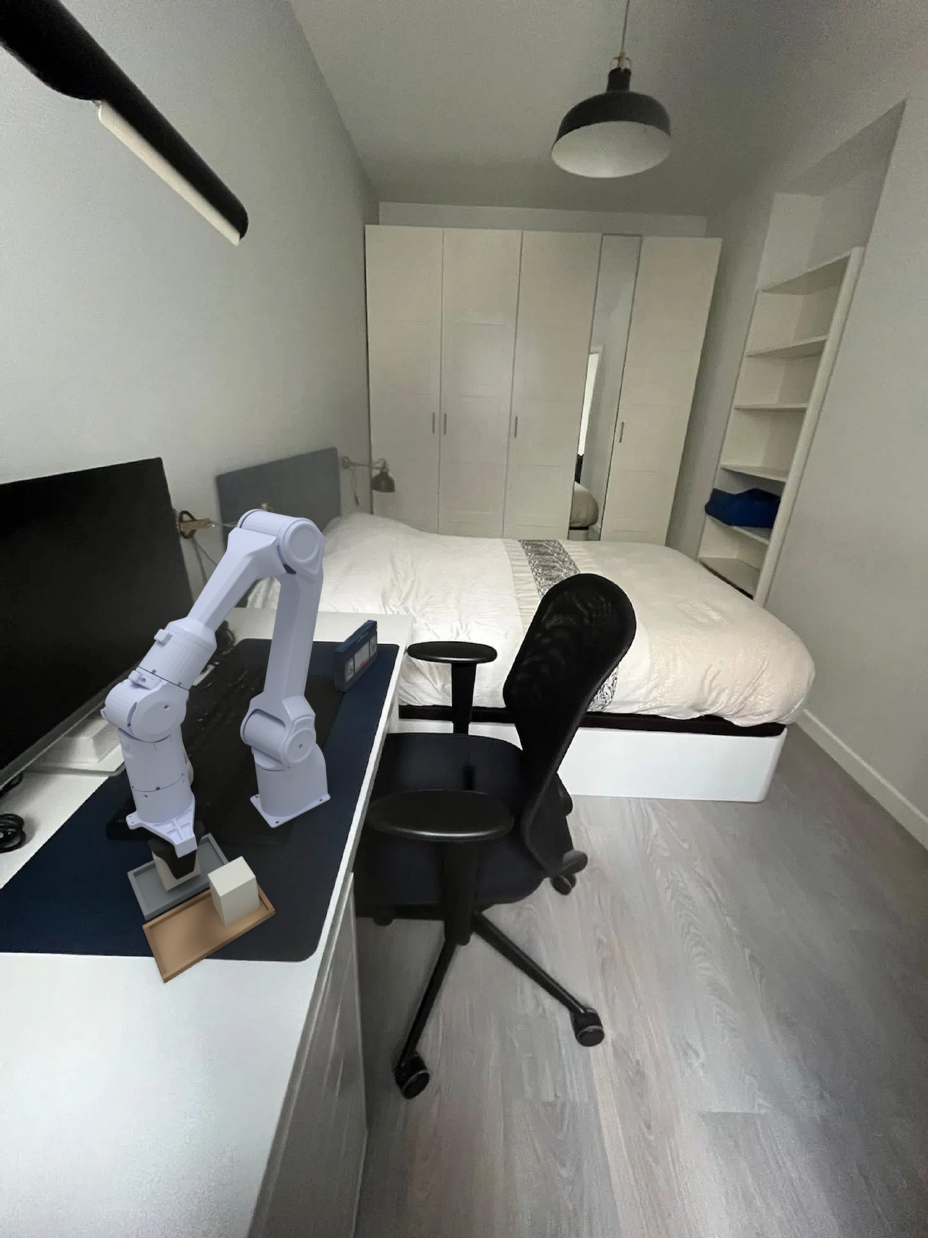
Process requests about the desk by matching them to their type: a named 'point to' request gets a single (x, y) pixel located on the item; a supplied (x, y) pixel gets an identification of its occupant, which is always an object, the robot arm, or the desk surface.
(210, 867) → the charcoal tray
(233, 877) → the stone
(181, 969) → the walnut tray
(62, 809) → the desk surface
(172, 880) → the white block
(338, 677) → the vhs cassette tape
